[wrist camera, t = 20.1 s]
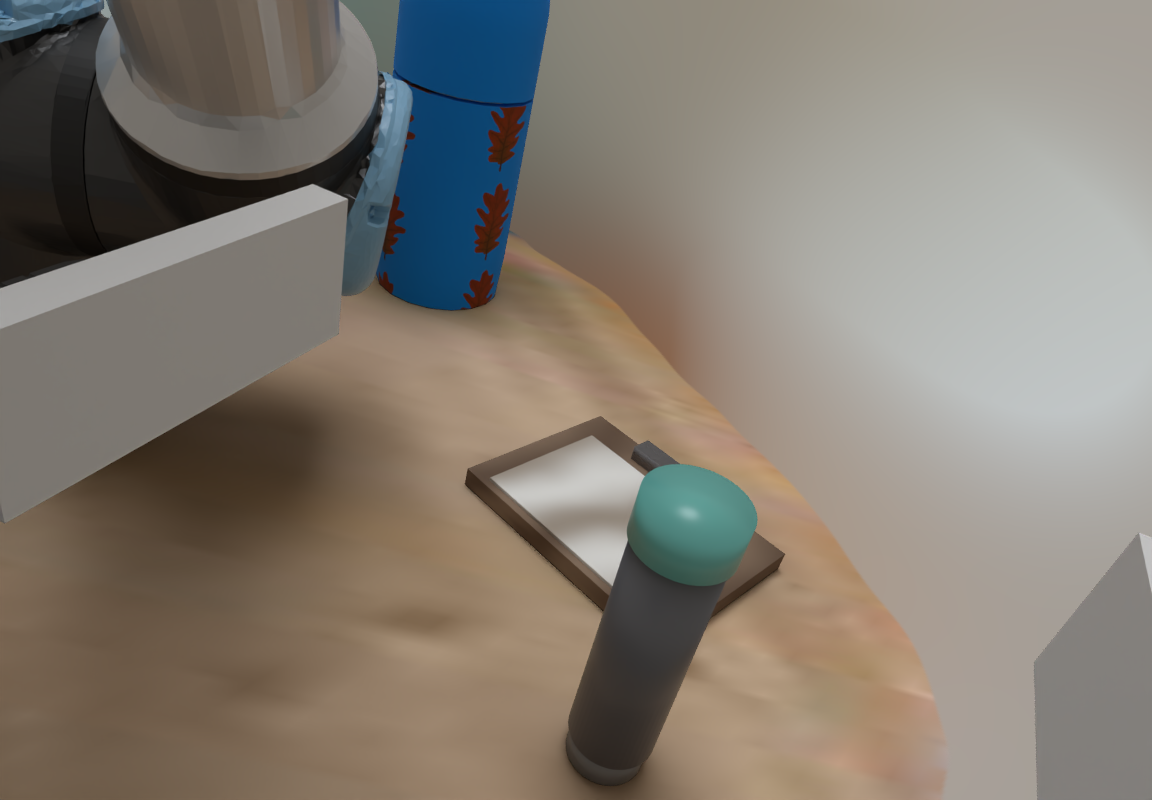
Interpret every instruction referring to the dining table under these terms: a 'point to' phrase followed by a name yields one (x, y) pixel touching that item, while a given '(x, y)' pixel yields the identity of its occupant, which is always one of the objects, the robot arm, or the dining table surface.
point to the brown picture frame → (589, 505)
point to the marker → (656, 615)
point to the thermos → (460, 145)
